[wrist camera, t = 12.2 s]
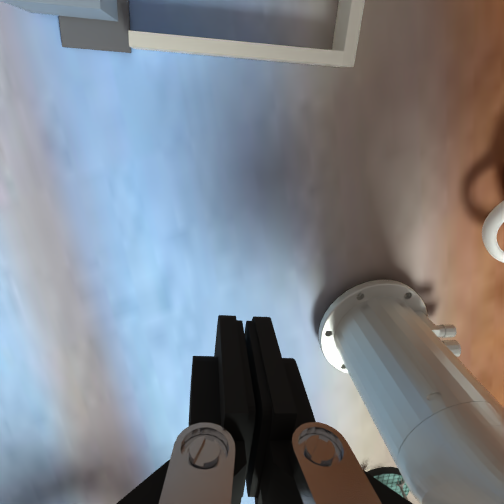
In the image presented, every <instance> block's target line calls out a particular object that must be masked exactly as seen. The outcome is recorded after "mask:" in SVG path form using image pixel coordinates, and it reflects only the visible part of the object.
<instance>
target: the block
mask: <svg viewBox="0 0 504 504" xmlns="http://www.w3.org/2000/svg"><path fill="white" fill-rule="evenodd" d="M0 1H2V2H4V3H7V4H10V5H12V6H15V7H18V8H20V9H23V10H25V11H28V12H31V13H38V14H48V15H58V16H68V17H78V18H88V19H98V20H108V21H118V9H117V0H0Z"/></svg>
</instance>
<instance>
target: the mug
mask: <svg viewBox="0 0 504 504" xmlns="http://www.w3.org/2000/svg"><path fill="white" fill-rule="evenodd" d="M503 222H504V201H502V202H501V203H500V204H498V205H497V206H496V207H495V208H494V209H493V210H492V211H491V212H490V213H489V215H488V216H487V218H486V219H485V222H484V224H483V228H482V239H483V242H484V245H485V247H486V249H487V251H488V252H489V253H490V255H491V256H493V257H494V258H495V259H497V260H498V261H501V262H504V251H502V250H501V249H500V247H499V245H498V243H497V238H496V236H497V231H498V229H499V227H500V226H501V224H502V223H503Z"/></svg>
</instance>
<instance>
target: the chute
mask: <svg viewBox="0 0 504 504" xmlns="http://www.w3.org/2000/svg"><path fill="white" fill-rule="evenodd" d="M364 4H365V0H339V3H338V10H337V17H336V24H335V31H334V38H333V45H332V50H325V49H314V48H304V47H294V46H284V45H273V44H263V43H253V42H242V41H232V40H222V39H212V38H201V37H191V36H181V35H170V34H160V33H150V32H140V31H129V30H128V35H129V47H131V48H134V49H141V50H152V51H163V52H174V53H185V54H196V55H207V56H218V57H229V58H241V59H252V60H263V61H274V62H285V63H296V64H307V65H318V66H329V67H354V63H355V57H356V51H357V45H358V39H359V33H360V27H361V22H362V16H363V10H364Z"/></svg>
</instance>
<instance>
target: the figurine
mask: <svg viewBox="0 0 504 504" xmlns="http://www.w3.org/2000/svg"><path fill="white" fill-rule="evenodd" d="M367 473H369V474H370V475H371V476H373V477H374V478H376V479H377V480H379V481H380V482H382V483H383V484H385V485H386V486H388V487H389V488H390V489H392V490H393V491H395V492H396V493H398V494H399V495H401V496H402V497H404V498H405V499H407V497H406V496H407V495H408V493H409V488H408V486H407V485H406V483H405V481H404V479H403V477H402V475H401V473H400V471H399V469H398V468H394V467H382V468H377V469H373V470H370V471H368V472H367ZM407 500H408V499H407Z"/></svg>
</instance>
